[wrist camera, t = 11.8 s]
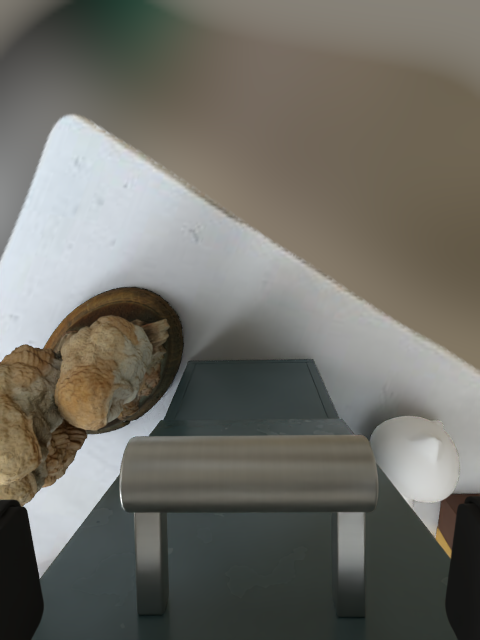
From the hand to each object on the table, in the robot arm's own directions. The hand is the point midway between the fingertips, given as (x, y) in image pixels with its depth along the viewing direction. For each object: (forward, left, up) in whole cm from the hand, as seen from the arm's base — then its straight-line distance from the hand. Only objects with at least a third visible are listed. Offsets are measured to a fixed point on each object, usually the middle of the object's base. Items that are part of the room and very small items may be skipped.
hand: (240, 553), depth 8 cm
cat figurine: (+13, -16, -29) cm, 35 cm away
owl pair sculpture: (-14, -7, -29) cm, 33 cm away
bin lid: (0, -5, -7) cm, 9 cm away
